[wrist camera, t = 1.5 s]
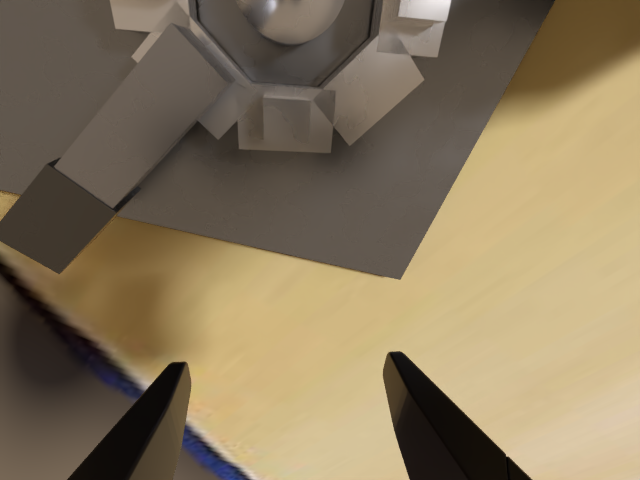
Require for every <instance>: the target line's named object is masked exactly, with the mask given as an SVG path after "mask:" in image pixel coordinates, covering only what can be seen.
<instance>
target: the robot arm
mask: <svg viewBox="0 0 640 480" xmlns="http://www.w3.org/2000/svg"><path fill="white" fill-rule="evenodd" d="M383 379H384V384H385V389H386V394H387V398H388V403H389V408H390V413H391V418H392V422H393V427H394V431H395V435H396V438H397V441H398V444H399V448H400V451H401V454H402V457H403V460H404V463H405V466H406V470H407V473H408V476H409V479H410V480H532V479H531V478H530V477H529V476H528V475H527V474H526V473H525V472H524V471H523V470H522V469H521V468H520V467H519V466H518V465H517V464H516V463H515V462H514V461H513V460H512V459H510V458H509V457H506V454H505V453H504V452H503V451H502V450H501V449H500V448H499V447H498V446H497V445H496V444H495V443H494V442H493V441H492V440H491V439H490V438H489V437H488V436H487V435H486V434H485V433H484V432H483V431H482V430H481V429H480V428H479V427H478V426H477V425H476V424H475V423H474V422H473V421H472V420H471V419H470V418H469V417H468V416H467V415H466V414H465V413H464V412H463V411H462V410H461V409H460V408H459V407H458V406H457V405H456V404H455V403H454V402H453V401H452V400H451V399H450V398H449V397H448V396H447V395H445V394H444V393H443V392H442V391H441V390H440V389H439V388H438V387H437V386H436V385H435V384H434V383H433V382H432V381H431V380H430V379H429V378H428V377H427V376H426V375H425V374H424V373H423V372H422V371H421V370H420V369H419V368H418V367H417V366H416V365H415V364H414V363H413V362H412V361H411V360H410V359H409V358H408V357H407V356H406V355H405V354H404V353H403V352H400V351H397V352H389V353H388V354H387V356H386V360H385V364H384V368H383ZM190 392H191V378H190V373H189V367H188V364H187V362H172V363H170V364H169V365H168V366H167V367H166V368H165V369H164V370H163V372H162V373H161V374H160V375H159V376H158V377H157V378H156V380H155V381H154V382H153V383H152V384H151V385H150V386H149V387H148V389H147V390H146V391H145V392H144V393H143V394H142V395H141V397H140V398H139V399H138V400H137V401H136V402H135V403H134V404H133V406H132V407H131V408H130V409H129V410H128V411H127V412H126V413H125V415H124V416H123V417H122V418H121V419H120V420H119V421H118V423H117V424H116V425H115V426H114V427H113V428H112V429H111V431H110V432H109V433H108V434H107V435H106V436H105V437H104V438H103V440H102V441H101V442H100V443H99V444H98V445H97V446H96V447H95V449H94V450H93V451H92V452H91V453H90V454H89V455H88V457H87V458H86V459H85V460H84V461H83V462H82V464H80V466H79V467H78V468H77V469H76V470H75V471H74V472H73V474H72V475H71V476H70V477H69V478H68V479H67V480H173V476H174V473H175V469H176V465H177V462H178V458H179V454H180V450H181V445H182V440H183V434H184V428H185V422H186V416H187V410H188V404H189V398H190Z"/></svg>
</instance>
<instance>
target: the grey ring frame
mask: <svg viewBox="0 0 640 480" xmlns="http://www.w3.org/2000/svg"><path fill="white" fill-rule="evenodd" d="M110 4H111V9H112V14H113V19H114V24H115V29H119V30H124V31H130V32H140V33H150V34H149V35H148V37H147V38H146V39H145V40H144V42H143V43H142V44H141V45H140V47H139V48H138V49H137V50H136V52H135V53H134V54H133V55H132V58H133V59H134V60H135V61H136V62H137V63H138V64H137V65H136V66H135V67H134V69H133V70H132V71H131V72H130V73H129V75H128V76H127V77H126V78H125V80H124V81H123V82H122V83H121V85H120V86H119V87H118V88H117V89H116V91H115V92H114V93H113V94H112V96H111V97H110V98H109V99H108V101H107V102H106V103H105V104H104V106H103V107H102V108H101V109H100V110H99V112H98V113H97V114H96V115H95V117H94V118H93V119H92V120H91V122H90V123H89V124H88V125H87V126H86V128H85V129H84V130H83V131H82V133H81V134H80V135H79V136H78V138H77V139H76V140H75V141H74V143H73V144H72V145H71V146H70V147H69V149H68V150H67V151H66V152H65V154H64V155H63V156H62V157H60V158H58V159H56V160H54V161H51V162H49V163H47V164H46V165H45V166H44V168H43V169H42V170H41V171H40V173H39V174H38V175H37V176H36V178H35V179H34V180H33V181H32V183H31V184H30V185H29V186H28V188H27V189H26V190H25V191H24V193H23V194H22V195H21V196H20V198H19V199H18V200H17V201H16V203H15V204H14V205H13V206H12V208H11V209H10V210H9V211H8V213H7V214H6V215H5V216H4V218H3V219H2V220H1V221H0V241H1V242H3V243H5V244H7V245H8V246H10V247H12V248H14V249H15V250H17V251H19V252H21V253H23V254H24V255H26V256H28V257H30V258H31V259H33V260H35V261H37V262H39V263H40V264H42V265H44V266H46V267H48V268H49V269H51V270H53V271H55V272H56V273H58V274H60V273H61V272H62V271H63V270H64V269H65V268H66V267H67V266H68V265H69V264H70V263H71V262H72V261H73V260H74V259H75V258H76V257H77V256H78V255H79V254H80V253H81V252H82V251H83V250H84V249H85V248H86V247H87V246H88V245H89V244H90V243H91V242H92V241H93V240H94V239H95V238H96V237H97V236H98V235H99V234H100V233H101V232H102V231H103V230H104V229H105V228H106V226H107V225H108V224H109V223H110V222H111V221H112V220H113V219H114V218H115V217H116V216H117V215H118V214H119V213H120V212H121V210H122V209H123V208H124V207H125V206H126V205H127V204H128V203H129V202H130V201H131V200H132V199H133V198H134V197H135V196H136V194H137V193H138V192H139V191H140V190H141V188H140V187H138V185H139V184H140V183H141V182H142V181H143V180H144V178H145V177H146V176H147V175H148V174H149V173H150V172H151V171H152V170H153V169H154V168H155V167H156V166H157V164H158V163H159V162H160V161H161V160H162V159H163V158H164V157H165V156H166V155H167V154H168V153H169V152H170V150H171V149H172V148H173V147H174V146H175V145H176V144H177V143H178V142H179V141H180V140H181V139H182V138H183V136H184V135H185V134H186V133H187V132H188V131H189V130H190V129H191V128H192V127H193V126H194V125H195V124H196V122H197V121H199V122H200V123H201V124H202V125H203V126H204V127H205V128H206V129H207V130H208V131H209V132H210V133H211V134H212V135H213V136H214V137H216V138H217V139H218V140H219V139H220V138H221V137H222V136H223V135H224V134H225V133H226V132H227V131H228V130H229V129H230V127H231V126H232V125H233V124H234V123H235V122H236V121H237V123H238V141H239V149H246V150H270V151H293V152H317V153H331V145H332V133H333V126H334V128H335V129H336V130H337V131H338V133H339V134H340V135H341V136H342V137H343V139H344V140H345V141H346V142H347V143H348V145H349V146H350V145H352V144H353V143H354V142H355V141H356V140H357V139H358V138H359V137H361V136H362V135H363V134H364V133H365V132H366V131H367V130H368V129H370V128H371V127H372V126H373V125H374V124H375V123H376V122H377V121H379V120H380V119H381V118H382V117H383V116H384V115H385V114H387V113H388V112H389V111H390V110H391V109H392V108H393V107H394V106H396V105H397V104H398V103H399V102H400V101H401V100H402V99H403V98H405V97H406V96H407V95H408V94H409V93H410V92H411V91H412V90H414V89H415V88H416V87H417V86H418V85H419V84H420V83H421V82H423V81H424V78H423V76H422V75H421V73H420V71H419V70H418V68H417V66H416V65H415V63H414V61H413V60H412V58H411V56H412V57H423V58H434V57H438V52H439V48H440V43H441V38H442V34H443V29H444V25H445V22H446V21H447V17H448V13H449V8H450V4H451V0H375V2H374V10H373V18H372V26H371V34H370V37H369V38H368V39H367V40H366V41H365V42H364V43H363V44H362V45H361V46H360V47H359V48H358V49H357V50H356V51H355V52H354V53H353V54H352V55H351V56H350V57H349V58H348V59H347V60H346V61H345V62H344V63H343V64H342V65H341V66H340V67H339V68H338V69H337V70H336V71H335V72H334V73H333V74H332V75H331V76H330V77H329V78H328V79H326V80H325V81H324V82H323V83H322V84H321V85H320V86H319V87H311V86H297V85H283V84H269V83H255V82H252V81H251V80H250V79H249V78H248V77H247V76H246V75H245V73H244V72H243V71H242V70H241V69H240V68H239V67H238V66H237V64H236V63H235V62H234V61H233V60H232V59H231V58H230V56H229V55H228V54H227V53H226V52H225V51H224V50H223V49H222V47H221V46H220V45H219V44H218V43H217V42H216V41H215V40H214V38H213V37H212V36H211V35H210V34H209V33H208V32H207V31H206V29H205V28H204V27H203V26H202V25H201V24H200V23H199V22H198V20H197V11H196V1H195V0H110Z"/></svg>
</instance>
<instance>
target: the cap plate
mask: <svg viewBox="0 0 640 480" xmlns="http://www.w3.org/2000/svg"><path fill="white" fill-rule="evenodd" d="M195 1H196V11H197V20H198V22H199V23H200V24H201V25H202V26H203V27H204V28H205V29H206V31H207V32H208V33H209V34H210V35H211V36H212V37H213V38H214V40H215V41H216V42H217V43H218V44H219V45H220V46H221V47H222V49H223V50H224V51H225V52H226V53H227V54H228V55H229V56H230V58H231V59H232V60H233V61H234V62H235V63H236V64H237V66H238V67H239V68H240V69H241V70H242V71H243V72H244V73H245V75H246V76H247V77H248V78H249V79H250V80H251V81H252V82H255V83H269V84H283V85H297V86H311V87H319V86H320V85H321V84H322V83H323V82H324V81H325V80H326V79H328V78H329V77H330V76H331V75H332V74H333V73H334V72H335V71H336V70H337V69H338V68H339V67H340V66H341V65H342V64H343V63H344V62H345V61H346V60H347V59H348V58H349V57H350V56H351V55H352V54H353V53H354V52H355V51H356V50H357V49H358V48H359V47H360V46H361V45H362V44H363V43H364V42H365V41H366V40H367V39H368V38H369V37H370V34H371V26H372V18H373V10H374V2H375V0H195ZM554 1H555V0H451V4H450V8H449V13H448V17H447V21H446V22H445V25H444V29H443V34H442V38H441V43H440V48H439V52H438V57H434V58H423V57H412V56H411V58H412V60H413V61H414V63H415V65H416V66H417V68H418V70H419V71H420V73H421V75H422V76H423V78H424V81H423V82H421V83H420V84H419V85H418V86H417V87H416V88H415V89H414V90H412V91H411V92H410V93H409V94H408V95H407V96H406V97H405V98H403V99H402V100H401V101H400V102H399V103H398V104H397V105H396V106H394V107H393V108H392V109H391V110H390V111H389V112H388V113H387V114H385V115H384V116H383V117H382V118H381V119H380V120H379V121H377V122H376V123H375V124H374V125H373V126H372V127H371V128H370V129H368V130H367V131H366V132H365V133H364V134H363V135H362V136H361V137H359V138H358V139H357V140H356V141H355V142H354V143H353V144H352V145H350V146H349V145H348V143H347V142H346V141H345V140H344V139H343V137H342V136H341V135H340V134H339V133H338V131H337V130H336V129H335V128H334V126H333V133H332V145H331V153H317V152H293V151H270V150H246V149H239V141H238V123H237V121H236V122H235V123H234V124H233V125H232V126H231V127H230V129H229V130H228V131H227V132H226V133H225V134H224V135H223V136H222V137H221V138H220V139H219V140H218V139H217V138H216V137H214V136H213V135H212V134H211V133H210V132H209V131H208V130H207V129H206V128H205V127H204V126H203V125H202V124H201V123H200V122H199V121H197V122H196V124H195V125H194V126H193V127H192V128H191V129H190V130H189V131H188V132H187V133H186V134H185V135H184V136H183V138H182V139H181V140H180V141H179V142H178V143H177V144H176V145H175V146H174V147H173V148H172V149H171V150H170V152H169V153H168V154H167V155H166V156H165V157H164V158H163V159H162V160H161V161H160V162H159V163H158V164H157V166H156V167H155V168H154V169H153V170H152V171H151V172H150V173H149V174H148V175H147V176H146V177H145V178H144V180H143V181H142V182H141V183H140V184H139V185H138V187H140V188H141V190H140V191H139V192H138V193H137V194H136V196H135V197H134V198H133V199H132V200H131V201H130V202H129V203H128V204H127V205H126V206H125V207H124V208H123V209H122V210H121V212H120V213H119V214H118V215H117V216H118V217H123V218H127V219H132V220H136V221H141V222H145V223H149V224H154V225H158V226H163V227H167V228H172V229H176V230H181V231H185V232H190V233H194V234H198V235H203V236H207V237H212V238H216V239H221V240H225V241H230V242H234V243H239V244H243V245H247V246H252V247H256V248H261V249H265V250H270V251H274V252H279V253H283V254H288V255H292V256H296V257H301V258H305V259H310V260H314V261H319V262H323V263H328V264H332V265H337V266H341V267H345V268H350V269H354V270H359V271H363V272H368V273H372V274H377V275H381V276H386V277H390V278H394V279H399V280H400V279H401V277H402V276H403V274H404V272H405V270H406V268H407V267H408V265H409V263H410V261H411V259H412V258H413V256H414V254H415V252H416V250H417V249H418V247H419V245H420V243H421V241H422V240H423V238H424V236H425V234H426V232H427V231H428V229H429V227H430V225H431V223H432V222H433V220H434V218H435V216H436V214H437V212H438V211H439V209H440V207H441V205H442V203H443V202H444V200H445V198H446V196H447V194H448V193H449V191H450V189H451V187H452V185H453V184H454V182H455V180H456V178H457V176H458V175H459V173H460V171H461V169H462V167H463V166H464V164H465V162H466V160H467V158H468V157H469V155H470V153H471V151H472V149H473V148H474V146H475V144H476V142H477V140H478V139H479V137H480V135H481V133H482V131H483V129H484V128H485V126H486V124H487V122H488V120H489V119H490V117H491V115H492V113H493V111H494V110H495V108H496V106H497V104H498V102H499V101H500V99H501V97H502V95H503V93H504V92H505V90H506V88H507V86H508V84H509V83H510V81H511V79H512V77H513V75H514V74H515V72H516V70H517V68H518V66H519V65H520V63H521V61H522V59H523V57H524V55H525V54H526V52H527V50H528V48H529V46H530V45H531V43H532V41H533V39H534V37H535V36H536V34H537V32H538V30H539V28H540V27H541V25H542V23H543V21H544V19H545V18H546V16H547V14H548V12H549V10H550V9H551V7H552V5H553V3H554ZM149 34H150V33H140V32H130V31H124V30H119V29H115V24H114V19H113V14H112V9H111V4H110V0H0V190H2V191H7V192H11V193H16V194H20V195H22V194H23V193H24V191H25V190H26V189H27V188H28V186H29V185H30V184H31V183H32V181H33V180H34V179H35V178H36V176H37V175H38V174H39V173H40V171H41V170H42V169H43V168H44V166H45V165H46V164H47V163H49V162H51V161H54V160H56V159H58V158H60V157H62V156H63V155H64V154H65V152H66V151H67V150H68V149H69V147H70V146H71V145H72V144H73V143H74V141H75V140H76V139H77V138H78V136H79V135H80V134H81V133H82V131H83V130H84V129H85V128H86V126H87V125H88V124H89V123H90V122H91V120H92V119H93V118H94V117H95V115H96V114H97V113H98V112H99V110H100V109H101V108H102V107H103V106H104V104H105V103H106V102H107V101H108V99H109V98H110V97H111V96H112V94H113V93H114V92H115V91H116V89H117V88H118V87H119V86H120V85H121V83H122V82H123V81H124V80H125V78H126V77H127V76H128V75H129V73H130V72H131V71H132V70H133V69H134V67H135V66H136V65H137V64H138V63H137V62H136V61H135V60H134V59H133V58H132V55H133V54H134V53H135V52H136V50H137V49H138V48H139V47H140V45H141V44H142V43H143V42H144V40H145V39H146V38H147V37H148V35H149Z"/></svg>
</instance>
